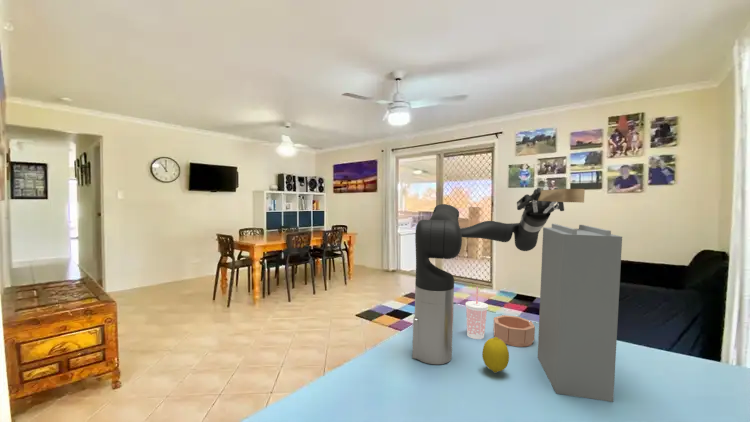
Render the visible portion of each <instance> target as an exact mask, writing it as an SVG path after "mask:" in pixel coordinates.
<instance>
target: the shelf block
mask: <svg viewBox="0 0 750 422" xmlns="http://www.w3.org/2000/svg"><path fill="white" fill-rule="evenodd" d="M541 246H542V247H541V249H542V251H541V268H540V269H541V272H540V273H541V274H540V294H539V296H540V298H539V319H538V341H537V360H538V361H539V363H540V365H541V367H542V369H543V371H544V373H545V375H546V376H547V377H546V378H547V379H548V380H549V382H550V384H551V386H552V388H553V390H554V393H555V394H557V395H564V396H569V397H570V396H571V397H579V398H584V399H585V398H586V399H591V400H598V401H605V402H612V403H613V402H614V395H615V394H614V393H615V379H616V378H615V376H616V375H615V373H616V359H617V357H616V356H617V341H618V337H617V336H618V322H619V321H618V319H619V303H620V302H619V300H620V288H621V285H620V283H621V265H622V249H623V248H622V247H623V236H620V235H616V234H613V233H612V230H609V229H603V228H600V227H595V226H590V225H585V224H579V225H578V228H573V227H569V226H565V225H562V224H558V223H551V227H545V226H543V227H542V245H541Z"/></svg>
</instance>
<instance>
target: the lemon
mask: <svg viewBox="0 0 750 422" xmlns="http://www.w3.org/2000/svg"><path fill="white" fill-rule="evenodd" d="M481 356H482V360H483V363H484V365H485V366H486V368H488V369H489V370H491V371H492V372H493V374H495V373H496V374H497V373H498V372H502V371H504V370H505V369H506V368H507V367H508V365H509V361H510V354H509V348H508V345H507V344H505V343H504V342H503V341H502V340H500V339H498V337H494V336H493V337H491V338H489V339H487V340H486V341H485V342H484V345H483V348H482V355H481Z"/></svg>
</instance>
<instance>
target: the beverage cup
mask: <svg viewBox="0 0 750 422" xmlns="http://www.w3.org/2000/svg"><path fill="white" fill-rule="evenodd" d="M475 289H476V291H475V293H476V294H475V300H468V301H465V307H466V335H467V337H469V338H471V339H473V340H483V339H485V332H486V321H487V312H488V310H489V305H488V303H486V302H483V301H479V300H478V299H479V286H476V288H475Z"/></svg>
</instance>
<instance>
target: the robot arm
mask: <svg viewBox="0 0 750 422" xmlns="http://www.w3.org/2000/svg"><path fill="white" fill-rule="evenodd" d="M553 189H559V187H554V188H553ZM540 190H542V189H541V187H537V188H535V189H533V191H532V192H533V193H531V194H524V196H522V197H521V198H520V199H518V201H517V202H516V209H517V210H518V211H521V210H523V209H524V210H523V212H522V214H521V216H520V221H519V222H516V223H515V222H514V223H512V222H511V223H505V222H500V221H494V220H484V221H481V222H479V223H476V224H473V225H471V226H467V227H460V224H459V218H460V211H459V209H458V208H456V207H455V206H454V205H453V206H452V205H450V204H447V203H439V204H437V205H436V206H435V207H434V209H433V212H432V215H431V216H430V218H429V219H420V220H419V221H418V222H417V224H416V226H415V234H414V236H415V238H414V239H415V240H414V241H415V245H414V246H415V280H414V281H415V284H414V285H415V287H414V288H415V289H414V290H415V291H414V316H413V320H412V321H413V323H412V350H411V351H412V353H411V354H412V359H415V360H418V361H420V362H422V363H425V364H430V365H443V364H447V363H449V362H451V360H452V358H453V354H452V353H453V332H454V331H453V329H454V327H453V326H454V300H455V299H454V295H455V293H454V292H455V277H454V275H453V274H451V273H450V272H449V271H445V270H443V269H441V268H439V267H437V266H435V264H433V263H432V262H431V260H430V259H441V260H443V259H444V260H451V259H455V258H456V257H458V256H459V255H460V252H461V249H462V244H463V238H466V239H467V238H468V239H481V240H482V239H485V240H490V241H496V242H501V243H508V242H510V241H511V239H512V237H514V238H513V239H514V245H515V247H516V248H517V249H518V250H519V251H522V252H529V251H531V250H533V249H534V248H535V247H536V246H537V243H538V239H539V238H538V237H539V233H540V232H541V230H542V229H543V227H545V225H546V224H547V222H548V220H549V218H550V217H551V213H553V212H555V210H559V211H560V212H564V211H565V206H564V202H552V201H537V200H538V198H539V196H540V194H541V191H540Z"/></svg>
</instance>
